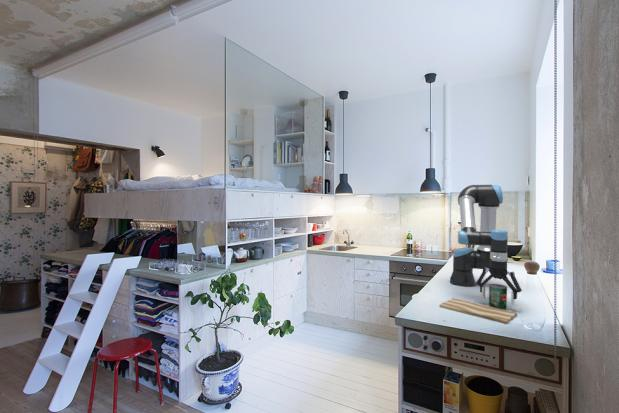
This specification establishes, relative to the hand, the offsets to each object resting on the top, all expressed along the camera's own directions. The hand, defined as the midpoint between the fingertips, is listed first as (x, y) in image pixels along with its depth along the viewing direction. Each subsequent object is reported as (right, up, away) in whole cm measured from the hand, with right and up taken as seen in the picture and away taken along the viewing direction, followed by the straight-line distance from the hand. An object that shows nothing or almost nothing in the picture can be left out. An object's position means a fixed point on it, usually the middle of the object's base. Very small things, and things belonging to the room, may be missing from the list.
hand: (497, 302), depth 161 cm
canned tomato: (0, -3, 0) cm, 3 cm away
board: (-14, -3, -6) cm, 15 cm away
